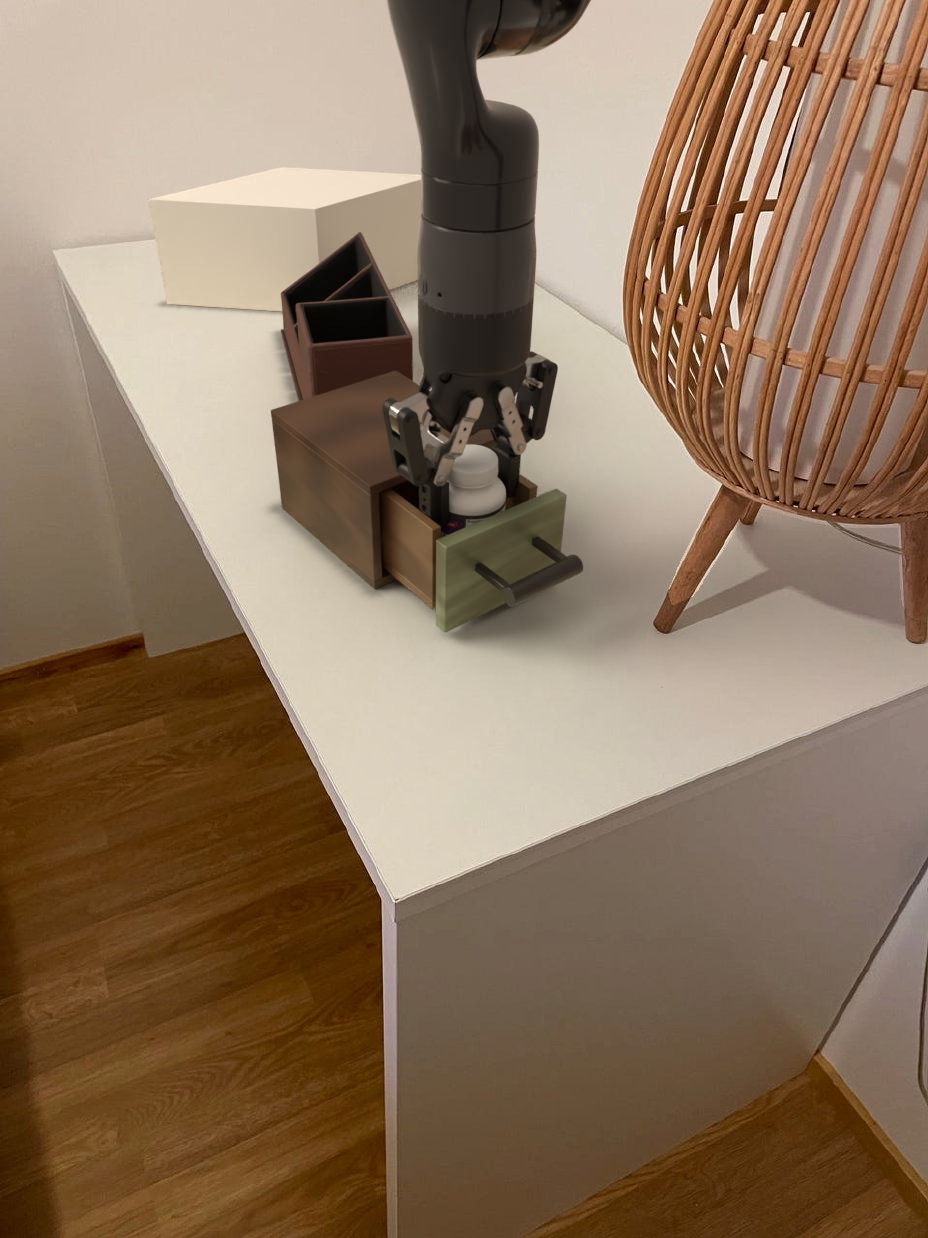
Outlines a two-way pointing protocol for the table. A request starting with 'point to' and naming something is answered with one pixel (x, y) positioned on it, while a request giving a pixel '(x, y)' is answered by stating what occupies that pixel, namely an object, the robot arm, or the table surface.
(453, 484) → the pill bottle
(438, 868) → the table surface
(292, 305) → the desk organizer
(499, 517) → the drawer
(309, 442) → the cabinet
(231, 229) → the block
